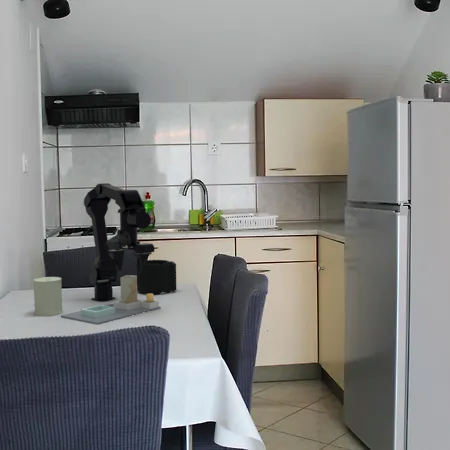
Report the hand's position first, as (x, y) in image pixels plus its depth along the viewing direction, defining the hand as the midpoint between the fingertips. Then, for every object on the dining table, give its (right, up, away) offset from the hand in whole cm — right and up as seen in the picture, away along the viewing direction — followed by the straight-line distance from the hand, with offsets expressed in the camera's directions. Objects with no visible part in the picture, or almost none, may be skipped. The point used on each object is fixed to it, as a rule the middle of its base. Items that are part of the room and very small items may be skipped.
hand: (129, 271), depth 210 cm
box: (0, -13, +1) cm, 13 cm away
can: (-27, -14, -4) cm, 30 cm away
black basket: (+6, -11, +32) cm, 34 cm away
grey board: (-5, -13, -6) cm, 15 cm away
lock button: (+7, -11, -1) cm, 13 cm away
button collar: (+7, -13, 0) cm, 15 cm away
